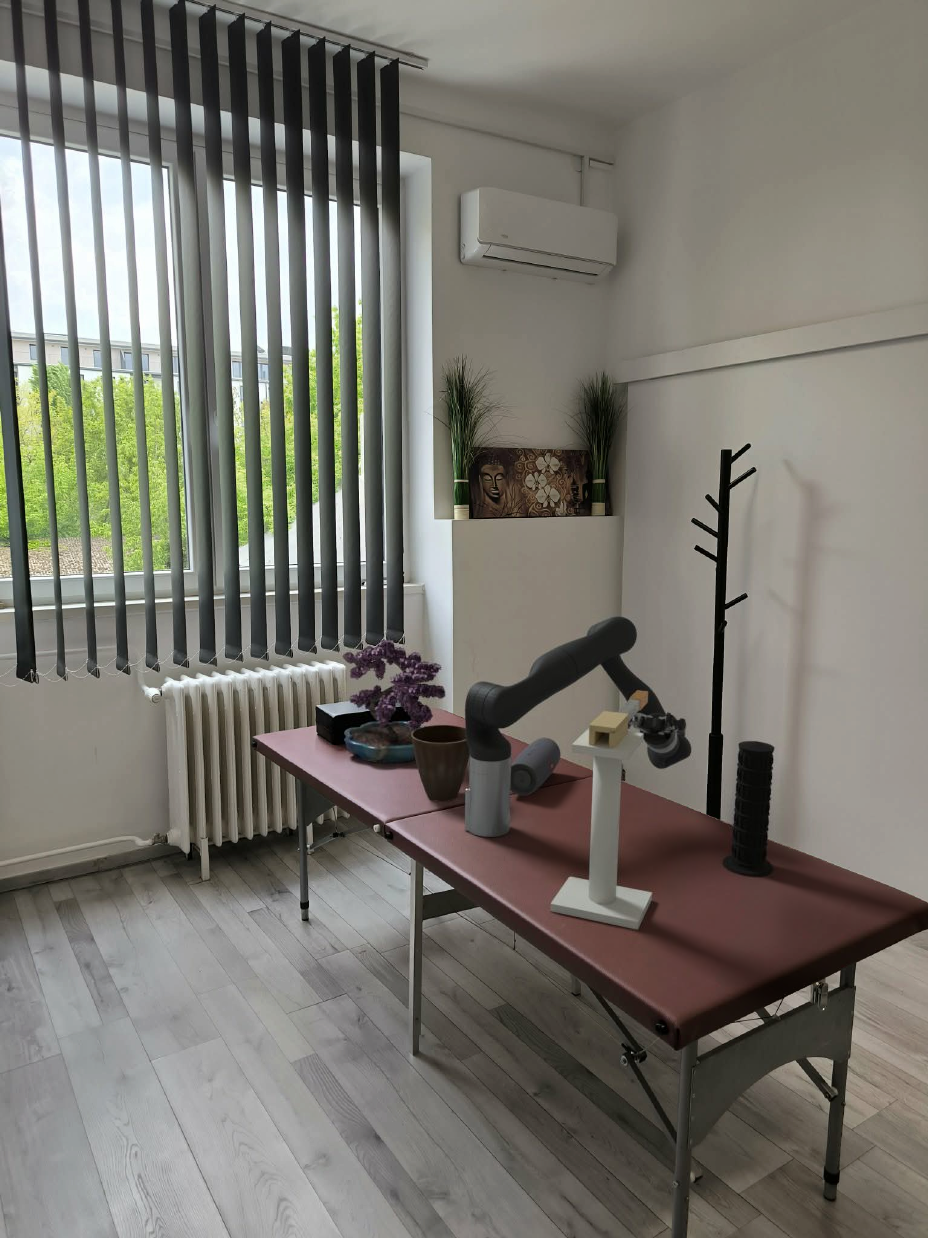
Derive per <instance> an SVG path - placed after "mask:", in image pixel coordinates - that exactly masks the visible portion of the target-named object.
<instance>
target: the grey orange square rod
mask: <svg viewBox="0 0 928 1238" xmlns="http://www.w3.org/2000/svg"><path fill="white" fill-rule="evenodd" d="M647 702H648V691H640V690H637V691H636V692H635V693H634V694H633V695H632V696H631V697H630V698H629V700H628V701H626V702H625V703H624V704H623V705H622V706H621V707H620V708H619V710H617V711H616V712H617V713H625V714H629V716H628V722H629V721H630V720H631V719H632V718H633V719H634V715H635V714H636V713H637V712H638V711H639V710H641V709H642V708H643V707H644V706H645V705H646V704H647Z"/></svg>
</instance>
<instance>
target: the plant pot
mask: <svg viewBox="0 0 928 1238" xmlns="http://www.w3.org/2000/svg"><path fill="white" fill-rule="evenodd" d="M424 726H425V727H421V728H418V729H416V730H414V731H413V732H412V734H411V736H412V743H413V749H414V754H415V759H414V760H415V763H416V767H417V771H418V774H419V777H420V780H421V784H422V786H423V788H424V789H423V790H424V792H425V794H426V797H427V798H428V799H429V800H431V801H434V802H435V801H436V802H449V801H453V800H455V799H456V798H458V796H459V792H460V790H461V788H462V784H463V782H464V779H465V776H466V773H467V768H468V765H469V747H468V744H467V741H466V727H463V726H459V725H451V724H435V725H434V724H433V725H424Z"/></svg>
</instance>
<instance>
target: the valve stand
mask: <svg viewBox="0 0 928 1238" xmlns="http://www.w3.org/2000/svg"><path fill="white" fill-rule="evenodd" d="M617 712H618V711H607V710H603V711H602V712H601V713H600V714H599V715H598V716H597V717H596V718H595V719H594V720H593V721H592V722H591V723H589V725H588V727H589V728H587V729H586V730H585V731H584V732H583V733H582V734H581V735H580V736H579V737H578V738H577V739H576V740H575V741H574V742H573V743H572V744H571V753H573V754H579V755H586V756H592V757H593V765H592V766H593V769H592V797H591V799H592V800H591V817H590V818H591V823H590V846H589V847H590V849H589V871H588V872H589V874H588V879H585V878H579V877H575V876H568V878H567V879H566V881H565V882H564V884H563V885H562V886H561V888H560V890H559V891H558V893H556V895H555V897H554V898H553V899H552V901H551V902H550V912H553V913H556V914H557V913H558V914H562V915H565V916H566V915H567V916H572V917H575V918H576V917H578V918H581V919H586V920H590V921H595V922H600V923H603V924H604V923H605V924H610V925H614V926H618V927H623V928H629V929H633V930H636V931H637V930H639V928H640V926H641V923H642V922H643V920H644V918H645V916H646V913H647V911H648V909H649V906H650V905H651V902H652V898H653V892H651V891H647V890H641V889H635V888H631V887H627V886H626V887H625V886H620V885H617V881H618V880H617V878H618V877H617V876H618V861H619V860H618V859H619V858H618V857H619V856H618V855H619V837H620V836H619V833H620V832H619V831H620V814H621V812H620V810H621V809H620V808H621V792H622V791H621V788H622V765H623V761H629V760H630V759H631V758H632V756H634V754H635V752H637V750H638V749H639V748H640V746H641V745H642V744H643V742H644V739H643V736H644V733H640V732H635V731H629V729H628V716H629V714H625V713H617Z"/></svg>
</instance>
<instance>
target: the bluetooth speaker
mask: <svg viewBox="0 0 928 1238" xmlns="http://www.w3.org/2000/svg"><path fill="white" fill-rule="evenodd" d="M560 759H561V749H560V747H559V745H558V744H557V742H556V741H555V740H553V739H551V738H549V737H541V738H537V739H535V740H534V741H532V742H530V744H529V745H528V746H526V748H524V749H523V750H522V751H521V752H520V753H519V754H518V755H517V756H516V758H515V759H513V761H512V762H511V788H510V792H512V793H513V794H515V795H517V796H522V797H523V796H530V795H531V794H533V793H534V792H535V791H537V790H538V789H539V788H540V787H541V786H543V784H544V783H545V782H546V781H547V779H548V778H549V777H550V776H551V775H552V773H553V772H554V770H555V769H556V767H558V766H557V765H558V764H559V762H560Z"/></svg>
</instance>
